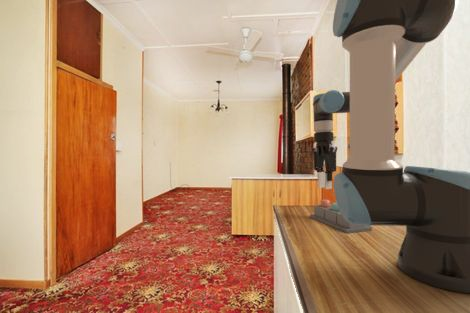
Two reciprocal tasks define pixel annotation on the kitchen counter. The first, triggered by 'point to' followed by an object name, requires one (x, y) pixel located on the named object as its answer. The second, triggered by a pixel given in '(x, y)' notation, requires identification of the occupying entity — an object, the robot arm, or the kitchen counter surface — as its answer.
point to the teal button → (335, 207)
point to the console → (336, 220)
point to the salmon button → (325, 203)
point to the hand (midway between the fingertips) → (324, 188)
